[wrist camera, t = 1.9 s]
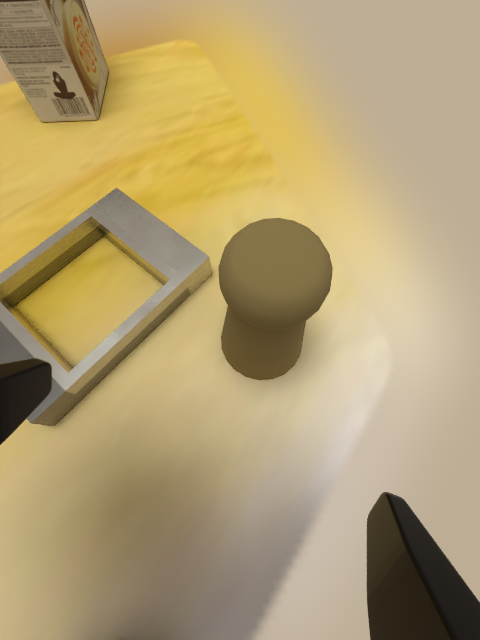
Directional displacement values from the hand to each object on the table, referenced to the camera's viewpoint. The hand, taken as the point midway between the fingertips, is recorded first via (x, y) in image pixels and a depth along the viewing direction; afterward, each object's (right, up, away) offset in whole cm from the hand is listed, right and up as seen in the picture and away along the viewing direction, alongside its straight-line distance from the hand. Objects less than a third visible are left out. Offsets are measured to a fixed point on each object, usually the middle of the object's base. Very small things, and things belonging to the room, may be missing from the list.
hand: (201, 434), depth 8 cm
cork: (+3, +1, +15) cm, 15 cm away
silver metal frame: (-10, +4, +16) cm, 20 cm away
